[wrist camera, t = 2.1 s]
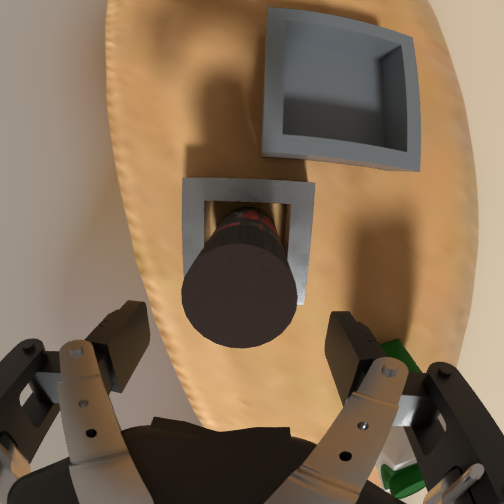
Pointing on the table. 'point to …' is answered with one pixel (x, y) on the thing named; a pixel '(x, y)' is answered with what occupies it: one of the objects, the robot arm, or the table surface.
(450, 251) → the table surface
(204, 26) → the table surface
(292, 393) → the table surface
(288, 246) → the socket collar
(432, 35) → the table surface
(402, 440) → the milk carton
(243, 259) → the deodorant
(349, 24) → the bin
